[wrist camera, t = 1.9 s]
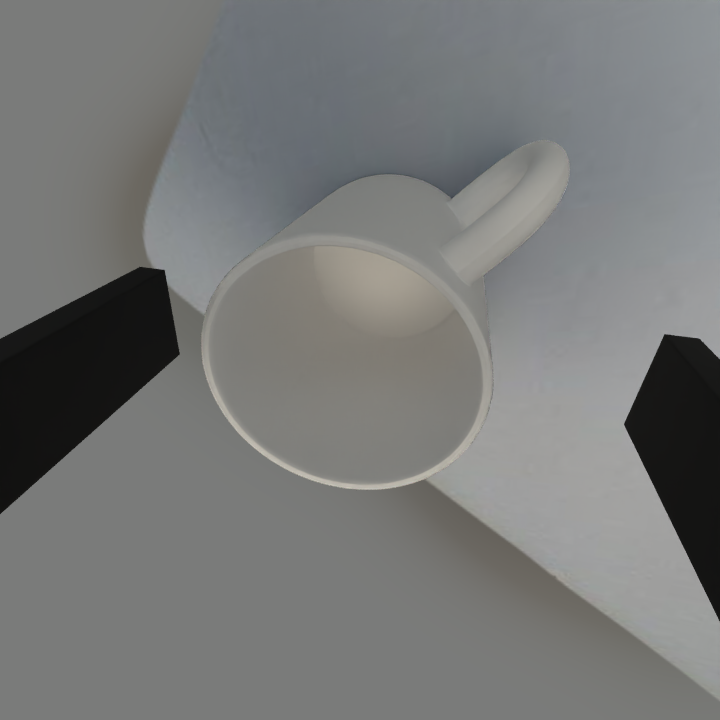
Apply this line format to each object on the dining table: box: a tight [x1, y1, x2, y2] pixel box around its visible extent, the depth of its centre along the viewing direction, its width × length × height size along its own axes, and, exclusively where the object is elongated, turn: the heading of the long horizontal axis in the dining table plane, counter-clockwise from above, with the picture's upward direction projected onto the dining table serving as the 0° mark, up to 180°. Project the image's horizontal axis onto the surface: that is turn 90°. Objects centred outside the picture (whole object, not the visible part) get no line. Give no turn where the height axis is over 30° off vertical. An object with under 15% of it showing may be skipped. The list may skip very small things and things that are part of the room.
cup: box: [201, 140, 570, 490], centre depth 16 cm, size 8×12×10 cm
